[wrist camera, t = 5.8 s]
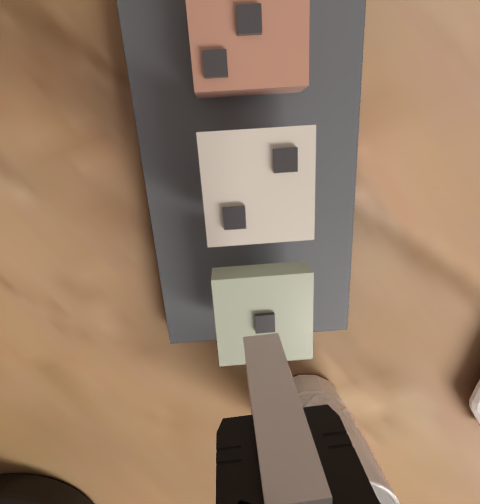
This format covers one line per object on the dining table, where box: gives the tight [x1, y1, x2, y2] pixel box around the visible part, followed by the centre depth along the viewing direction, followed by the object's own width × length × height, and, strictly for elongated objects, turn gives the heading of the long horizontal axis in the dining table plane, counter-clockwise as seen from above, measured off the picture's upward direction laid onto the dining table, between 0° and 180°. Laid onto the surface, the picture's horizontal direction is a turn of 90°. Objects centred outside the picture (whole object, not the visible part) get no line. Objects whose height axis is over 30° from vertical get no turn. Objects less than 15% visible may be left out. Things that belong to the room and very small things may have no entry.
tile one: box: [211, 261, 314, 366], centre depth 20 cm, size 6×6×2 cm
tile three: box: [185, 0, 310, 99], centre depth 16 cm, size 6×6×2 cm
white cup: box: [293, 375, 400, 504], centre depth 24 cm, size 8×8×10 cm
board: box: [117, 0, 366, 344], centre depth 21 cm, size 14×24×2 cm, turn 3°
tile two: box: [196, 125, 316, 247], centre depth 17 cm, size 6×6×2 cm
